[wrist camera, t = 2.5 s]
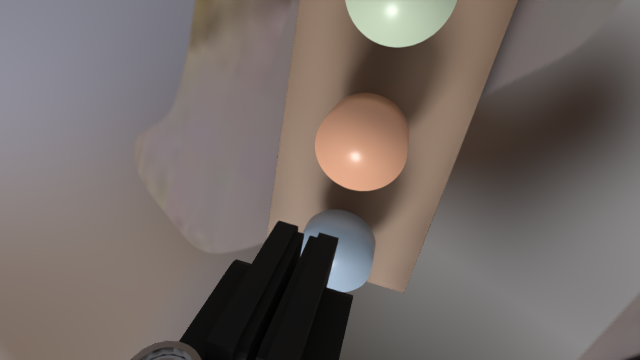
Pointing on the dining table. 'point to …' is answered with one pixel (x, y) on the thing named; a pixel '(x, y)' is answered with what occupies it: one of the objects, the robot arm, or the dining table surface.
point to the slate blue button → (345, 247)
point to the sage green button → (399, 19)
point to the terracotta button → (363, 142)
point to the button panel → (409, 95)
